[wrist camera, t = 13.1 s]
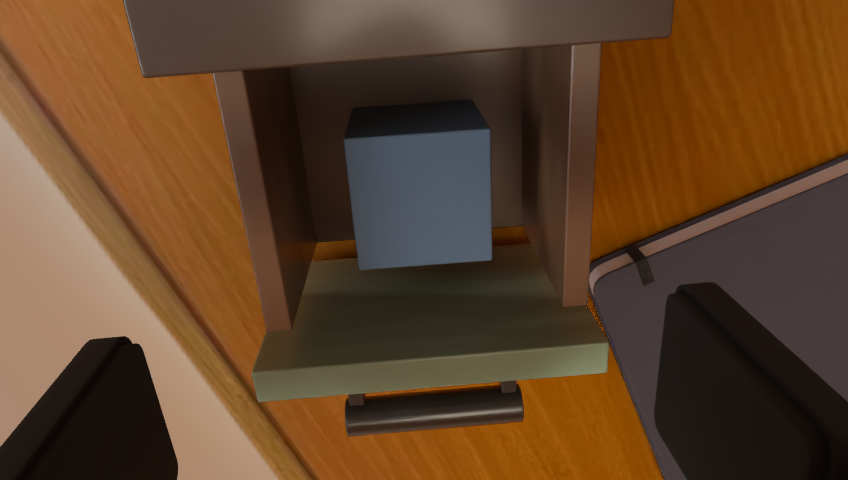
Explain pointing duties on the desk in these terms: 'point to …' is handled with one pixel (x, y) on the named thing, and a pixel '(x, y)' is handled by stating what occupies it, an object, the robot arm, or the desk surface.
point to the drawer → (427, 284)
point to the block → (420, 184)
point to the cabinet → (370, 30)
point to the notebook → (737, 282)
